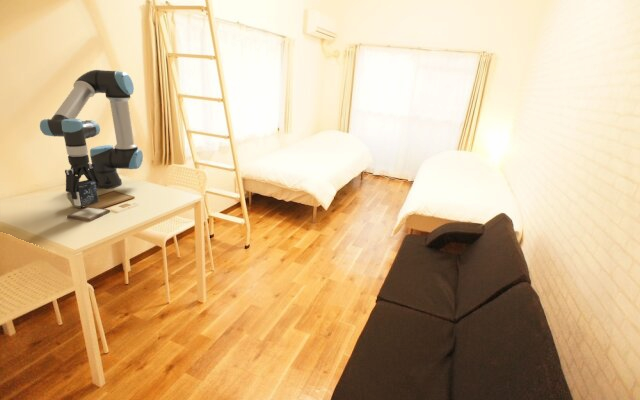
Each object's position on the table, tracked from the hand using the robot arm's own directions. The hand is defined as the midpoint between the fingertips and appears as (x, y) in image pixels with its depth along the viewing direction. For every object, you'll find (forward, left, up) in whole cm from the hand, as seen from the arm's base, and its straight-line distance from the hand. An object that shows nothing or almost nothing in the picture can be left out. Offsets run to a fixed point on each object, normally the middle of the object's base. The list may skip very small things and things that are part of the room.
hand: (86, 201), depth 156 cm
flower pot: (-8, -12, -7) cm, 16 cm away
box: (0, 0, -1) cm, 1 cm away
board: (0, 0, -7) cm, 7 cm away
